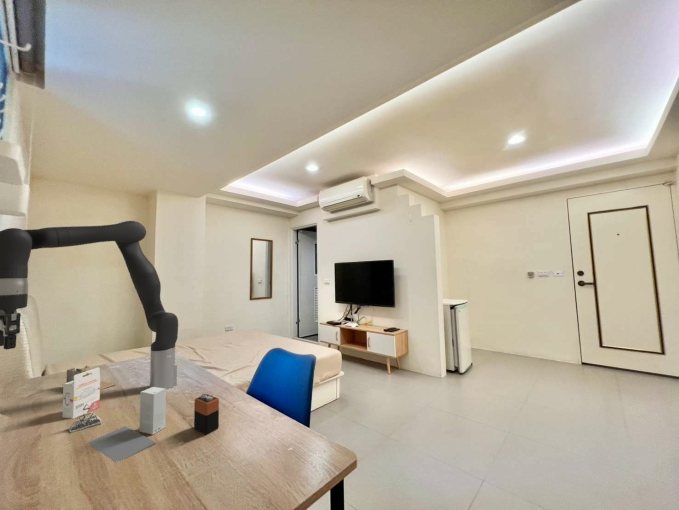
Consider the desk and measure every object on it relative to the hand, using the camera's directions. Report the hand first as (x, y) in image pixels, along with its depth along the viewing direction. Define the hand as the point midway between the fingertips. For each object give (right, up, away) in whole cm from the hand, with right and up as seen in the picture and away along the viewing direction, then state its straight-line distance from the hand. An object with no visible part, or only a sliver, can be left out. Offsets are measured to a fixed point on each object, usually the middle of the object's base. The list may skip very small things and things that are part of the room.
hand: (5, 347), depth 79 cm
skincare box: (+43, -27, +2) cm, 51 cm away
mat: (+38, -26, -6) cm, 46 cm away
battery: (+60, -26, +2) cm, 65 cm away
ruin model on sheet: (-15, -31, +37) cm, 50 cm away
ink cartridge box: (+9, -29, +14) cm, 33 cm away
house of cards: (+19, -28, +7) cm, 35 cm away
